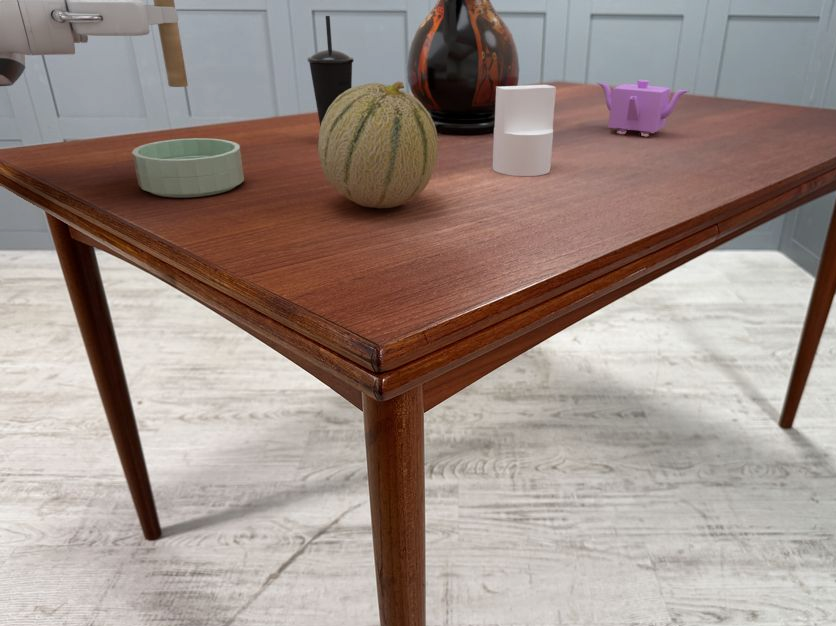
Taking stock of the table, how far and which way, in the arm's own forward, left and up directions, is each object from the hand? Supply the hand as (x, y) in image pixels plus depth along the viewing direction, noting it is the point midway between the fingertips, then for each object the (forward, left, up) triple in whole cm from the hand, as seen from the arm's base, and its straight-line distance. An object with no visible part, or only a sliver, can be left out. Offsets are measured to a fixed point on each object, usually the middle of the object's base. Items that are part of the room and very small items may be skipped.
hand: (173, 14), depth 85 cm
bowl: (-1, -4, -21) cm, 21 cm away
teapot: (+80, +17, -21) cm, 85 cm away
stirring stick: (-1, 0, -8) cm, 9 cm away
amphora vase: (+48, +29, -21) cm, 60 cm away
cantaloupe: (+22, -19, -21) cm, 36 cm away
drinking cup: (+22, +21, -21) cm, 37 cm away
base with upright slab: (+47, -5, -21) cm, 52 cm away
